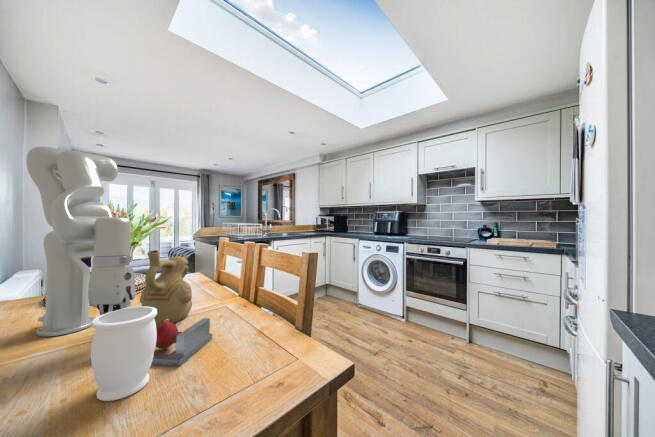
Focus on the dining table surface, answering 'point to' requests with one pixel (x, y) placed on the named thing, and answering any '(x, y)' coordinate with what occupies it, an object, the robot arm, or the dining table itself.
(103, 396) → the jar
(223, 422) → the dining table surface
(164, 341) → the onion
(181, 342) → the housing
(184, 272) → the ceramic vessel
